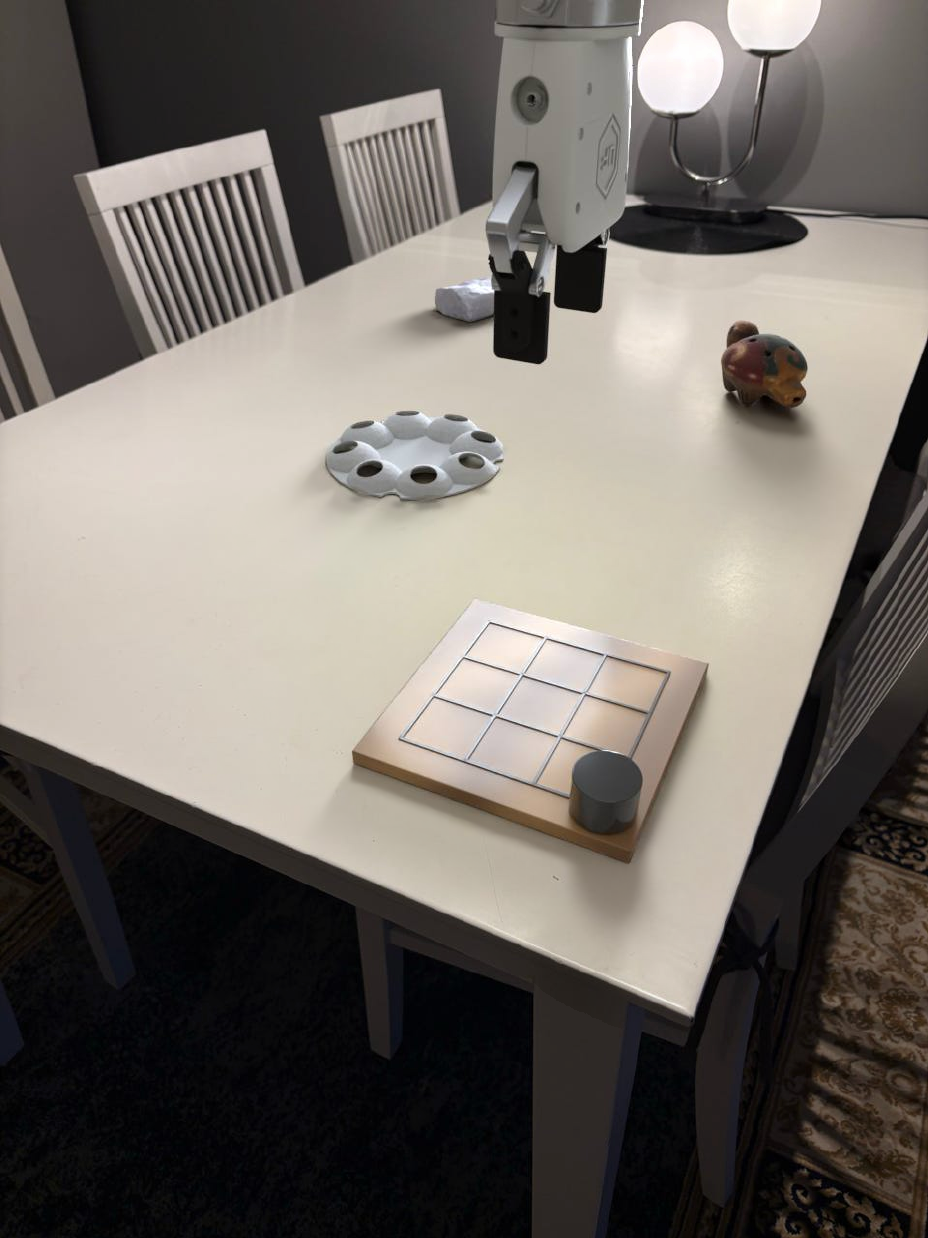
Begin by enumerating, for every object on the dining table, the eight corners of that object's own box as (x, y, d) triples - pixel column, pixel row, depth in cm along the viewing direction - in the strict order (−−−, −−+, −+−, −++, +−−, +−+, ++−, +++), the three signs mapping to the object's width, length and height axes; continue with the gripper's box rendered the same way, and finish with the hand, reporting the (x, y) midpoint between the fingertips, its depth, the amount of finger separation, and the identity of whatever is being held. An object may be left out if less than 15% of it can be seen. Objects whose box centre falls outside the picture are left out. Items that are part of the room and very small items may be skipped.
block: (429, 320, 141) (471, 323, 134) (425, 287, 139) (467, 289, 131) (486, 306, 147) (529, 308, 140) (483, 275, 145) (526, 275, 138)
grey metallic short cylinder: (646, 795, 59) (651, 763, 57) (625, 844, 56) (630, 811, 54) (582, 774, 61) (585, 741, 59) (558, 820, 58) (561, 787, 56)
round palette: (329, 506, 92) (327, 489, 90) (323, 424, 107) (322, 408, 106) (519, 492, 94) (520, 474, 93) (487, 413, 109) (487, 397, 108)
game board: (706, 674, 71) (709, 661, 70) (629, 864, 56) (631, 850, 56) (474, 609, 78) (474, 596, 77) (352, 763, 63) (351, 749, 63)
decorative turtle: (748, 369, 120) (765, 309, 115) (825, 421, 110) (847, 358, 104) (687, 377, 117) (702, 316, 112) (760, 432, 106) (780, 367, 101)
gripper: (580, 14, 39) (556, 394, 49) (684, -7, 51) (648, 300, 62) (424, 9, 41) (433, 371, 52) (560, -9, 54) (545, 285, 64)
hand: (550, 332), depth 57 cm, fingers open, 9 cm apart
